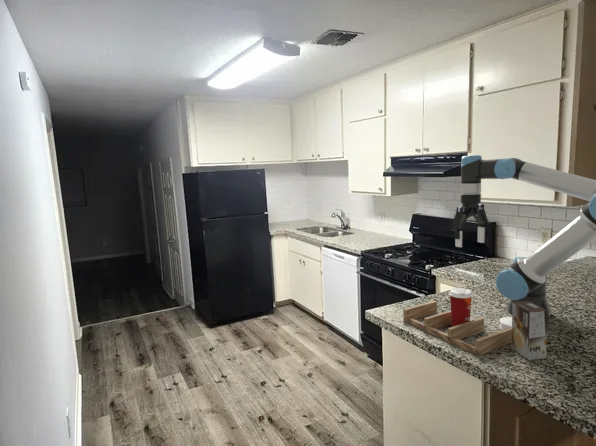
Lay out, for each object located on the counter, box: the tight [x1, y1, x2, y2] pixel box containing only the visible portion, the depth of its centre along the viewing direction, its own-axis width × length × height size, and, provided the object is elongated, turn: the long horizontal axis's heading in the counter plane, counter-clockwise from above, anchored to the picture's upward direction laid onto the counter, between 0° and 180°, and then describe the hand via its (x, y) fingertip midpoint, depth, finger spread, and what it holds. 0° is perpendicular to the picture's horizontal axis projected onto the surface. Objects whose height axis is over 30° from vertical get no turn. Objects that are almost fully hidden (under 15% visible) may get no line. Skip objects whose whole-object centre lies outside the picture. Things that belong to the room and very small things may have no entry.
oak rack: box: [402, 300, 512, 357], centre depth 146 cm, size 35×18×5 cm, turn 28°
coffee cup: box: [448, 287, 473, 327], centre depth 147 cm, size 8×8×15 cm
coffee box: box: [511, 301, 548, 361], centre depth 126 cm, size 9×6×16 cm
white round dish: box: [499, 316, 512, 331], centre depth 145 cm, size 10×10×4 cm
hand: (470, 244), depth 161 cm, fingers open, 13 cm apart
